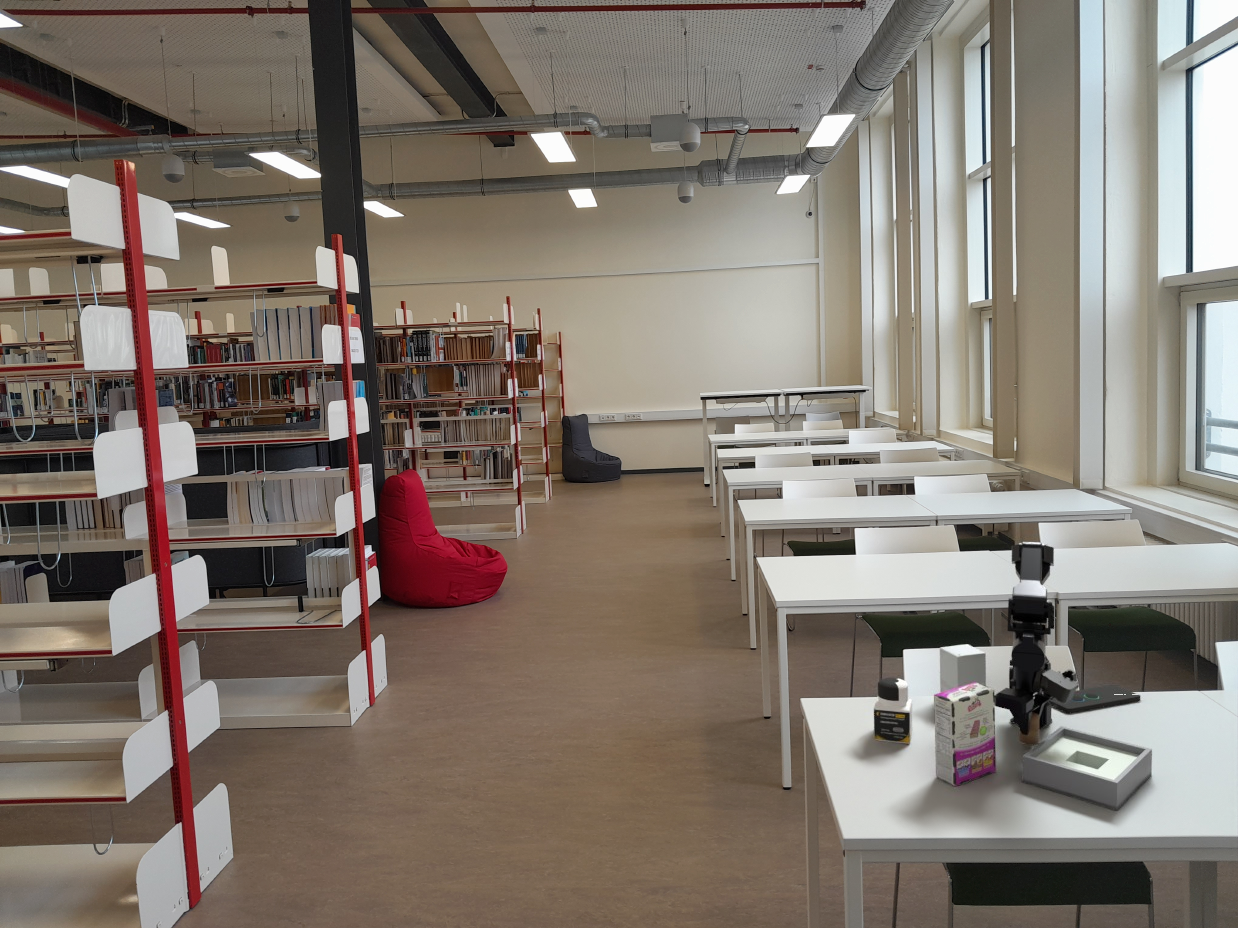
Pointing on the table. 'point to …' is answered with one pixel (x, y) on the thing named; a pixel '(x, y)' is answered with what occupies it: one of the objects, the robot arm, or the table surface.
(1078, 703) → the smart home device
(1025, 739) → the peg
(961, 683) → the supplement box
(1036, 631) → the robot arm
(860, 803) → the table surface
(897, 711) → the medicine bottle
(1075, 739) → the box
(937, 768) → the candy bar box
